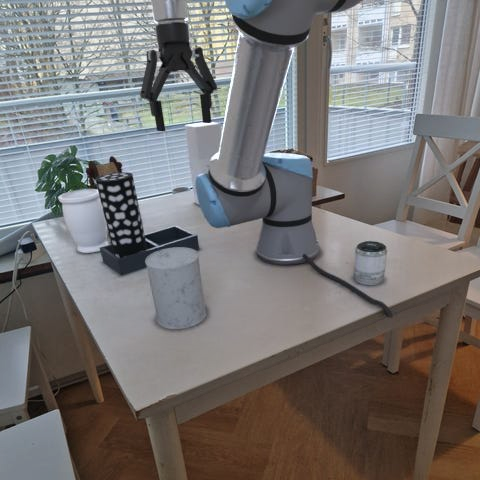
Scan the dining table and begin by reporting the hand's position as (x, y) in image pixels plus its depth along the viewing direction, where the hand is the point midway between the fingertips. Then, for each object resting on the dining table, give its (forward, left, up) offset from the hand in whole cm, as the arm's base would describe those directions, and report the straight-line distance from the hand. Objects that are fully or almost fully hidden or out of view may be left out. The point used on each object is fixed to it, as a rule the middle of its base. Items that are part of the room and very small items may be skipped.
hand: (184, 126), depth 107 cm
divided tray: (-3, +16, -28) cm, 33 cm away
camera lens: (-50, -11, -29) cm, 59 cm away
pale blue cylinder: (-35, +26, -29) cm, 53 cm away
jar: (+15, +25, -29) cm, 41 cm away
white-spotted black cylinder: (-3, +22, -28) cm, 35 cm away
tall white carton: (+25, -21, -29) cm, 43 cm away
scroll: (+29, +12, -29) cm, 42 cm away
